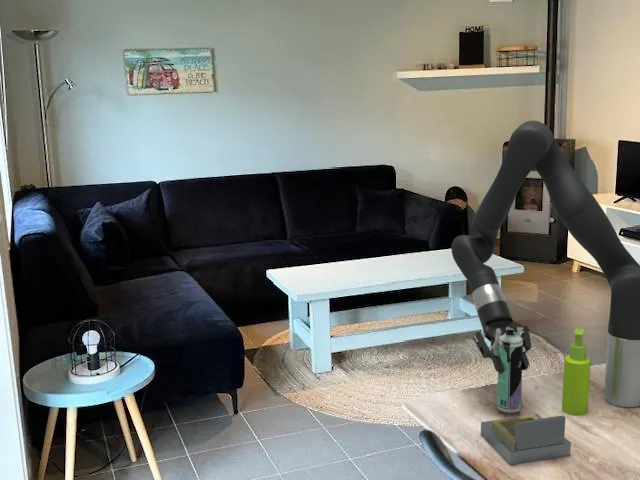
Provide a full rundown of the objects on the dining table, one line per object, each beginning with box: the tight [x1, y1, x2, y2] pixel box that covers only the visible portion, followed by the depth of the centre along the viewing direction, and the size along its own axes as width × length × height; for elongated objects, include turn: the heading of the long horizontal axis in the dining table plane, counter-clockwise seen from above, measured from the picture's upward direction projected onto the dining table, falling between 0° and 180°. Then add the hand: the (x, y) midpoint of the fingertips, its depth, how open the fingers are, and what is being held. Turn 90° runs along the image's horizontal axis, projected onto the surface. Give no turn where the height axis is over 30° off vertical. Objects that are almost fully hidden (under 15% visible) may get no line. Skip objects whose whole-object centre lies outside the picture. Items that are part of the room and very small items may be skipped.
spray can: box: [496, 328, 523, 413], centre depth 179 cm, size 6×6×20 cm
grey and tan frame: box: [480, 413, 572, 466], centre depth 165 cm, size 14×14×9 cm
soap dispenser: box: [561, 326, 592, 416], centre depth 180 cm, size 6×7×20 cm
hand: (513, 370), depth 177 cm, fingers closed on spray can, 5 cm apart
